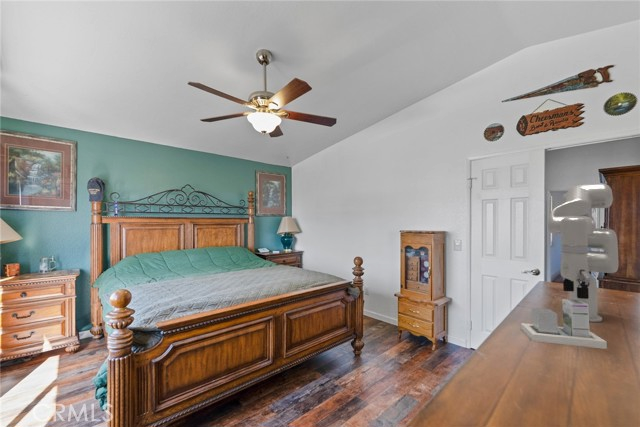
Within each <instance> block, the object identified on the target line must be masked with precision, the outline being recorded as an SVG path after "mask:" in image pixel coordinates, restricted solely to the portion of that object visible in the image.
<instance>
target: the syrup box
mask: <svg viewBox="0 0 640 427" xmlns="http://www.w3.org/2000/svg"><path fill="white" fill-rule="evenodd" d="M561 301H562V324H563V326H562V327H563V329H564V333H565V334H567V335H568V336H573V337H583V338H590V332H591V331H590V321H589V309H588V304H586V303H584V302H582V301H579V300H574V299H570V298H569V299H568V298H565V299H562V300H561ZM589 331H590V332H589Z"/></svg>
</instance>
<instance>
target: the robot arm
mask: <svg viewBox="0 0 640 427" xmlns="http://www.w3.org/2000/svg"><path fill="white" fill-rule="evenodd" d="M561 199H562V203H561V204H560V205H558V206H556V207H554V208H553V209H552V210H551V211H550V214H549V216H548V219H547V220H548V222H547V229H548V231H549V232H550V234H553V235H560V248H561V250H560V252H561V257H560V272H559V273H560V276H561V277H562V284H563V285H562V286H563V288H562V290H563V291H564V292H569V299H574V300H579V301H582V302H584V303H586V304H588V309H589V323H590V322H592V323H593V322H594V323H596V322H599V323H600V322H603V317H602V316H600V315H598V292H597V291H598V288H597V286H598V285H597V280H596V279H595V277H594V276H593V275H592V274H590V272H591V273H592V272H593V273H602V274H603V273H605V274H606V273H607V274H615V273H616V272H617V271H618V269H619V244H618V243H619V242H618V235H617V233H616V232H615V230H613V229H611V228H605V227H604V228H603V227H602V228H597V227H596V221H595V219H594V217H593V216H592V215H591V214H590V212H591V209H607V208H610V207H611V206H612V204H613V201H614V196H613V191H612V188H611V186H610V185H608V184H606V183H590V184H589V183H588V184H587V183H586V184H577V185H572V186H571V187H569V188H568V190H567V191H566V193H564V194H563V195H562V197H561ZM589 249H594V250H589ZM595 249H599V250H603V251H598V250H595Z"/></svg>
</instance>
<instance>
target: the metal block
mask: <svg viewBox="0 0 640 427" xmlns="http://www.w3.org/2000/svg"><path fill="white" fill-rule="evenodd" d="M531 312H532V313H531V315H532V316H531V321H532V322H531V324H532V329H533V330H534V331H535V332H536V333H543V334H553V335H558V327H559V325H558V313H556V312H555V311H554V310H552V309H550V308H540V307H532V308H531Z"/></svg>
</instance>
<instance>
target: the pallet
mask: <svg viewBox="0 0 640 427" xmlns="http://www.w3.org/2000/svg"><path fill="white" fill-rule="evenodd" d="M520 330H521V331H522V332H523V333H524V334H525V335H526V336H527V337H528V338H529V339H530V340H531V341H532V342H538V343H547V344H557V345H566V346H572V347H573V346H574V347H575V346H576V347H585V348H594V349H602V350H607V349H608V348H607V347H608V346H607V345H608V344H607V341H606V340H605V339H603V338H602V337H599V336H598V335H596V334H595V333H594V332H592V331H590V330H589V332H590V338H583V337H573V336H568V335H567V334H565V333H564V329H563V326H558V335H553V334H543V333H536V332H535V331H534V330H533V329H532V323H523V322H521V323H520Z"/></svg>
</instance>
